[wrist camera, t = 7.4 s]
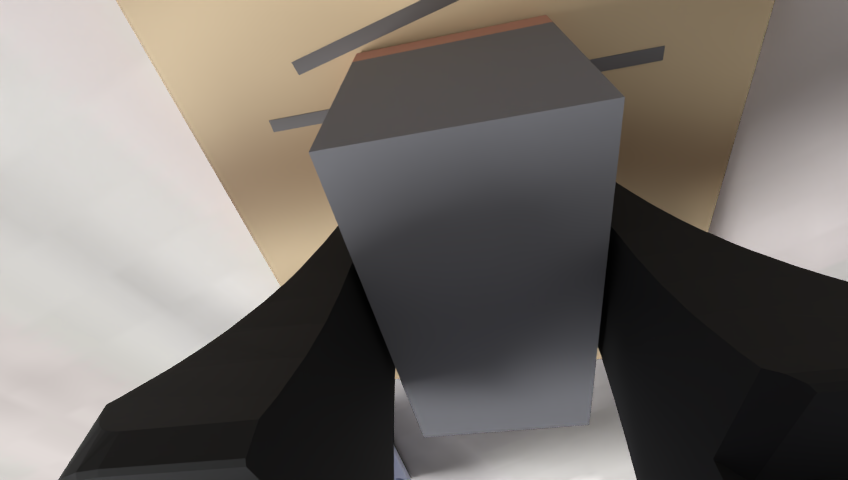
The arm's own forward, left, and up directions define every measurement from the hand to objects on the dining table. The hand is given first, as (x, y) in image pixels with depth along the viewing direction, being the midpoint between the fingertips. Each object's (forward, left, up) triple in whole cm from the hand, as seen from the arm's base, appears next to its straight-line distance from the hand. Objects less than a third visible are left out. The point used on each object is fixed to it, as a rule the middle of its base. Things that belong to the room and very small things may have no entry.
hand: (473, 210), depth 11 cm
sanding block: (0, 0, -1) cm, 1 cm away
